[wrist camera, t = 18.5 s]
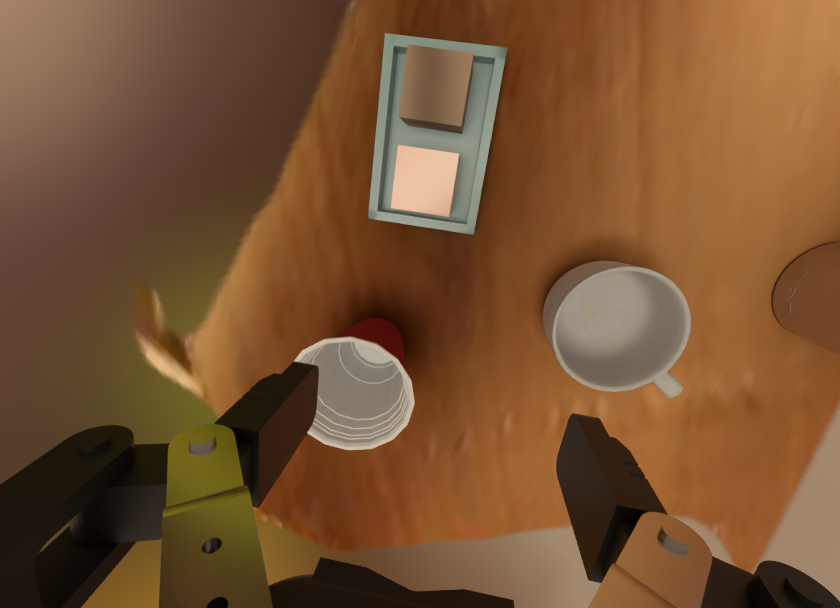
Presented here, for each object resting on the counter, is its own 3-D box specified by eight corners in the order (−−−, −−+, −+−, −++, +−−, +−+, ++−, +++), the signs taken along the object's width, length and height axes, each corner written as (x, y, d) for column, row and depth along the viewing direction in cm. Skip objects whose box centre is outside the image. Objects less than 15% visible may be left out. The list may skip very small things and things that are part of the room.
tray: (504, 57, 33) (507, 47, 31) (473, 231, 38) (473, 234, 36) (391, 43, 34) (385, 33, 32) (374, 216, 39) (368, 218, 36)
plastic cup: (401, 401, 45) (378, 475, 33) (318, 357, 44) (266, 418, 33) (446, 325, 41) (437, 379, 30) (356, 277, 41) (312, 313, 29)
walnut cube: (472, 71, 33) (473, 53, 29) (462, 133, 35) (461, 126, 30) (416, 63, 34) (407, 44, 29) (408, 125, 35) (398, 117, 30)
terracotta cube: (451, 212, 37) (449, 216, 32) (400, 204, 37) (390, 207, 33) (460, 157, 35) (459, 153, 31) (407, 149, 36) (397, 144, 31)
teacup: (516, 288, 39) (527, 313, 32) (618, 228, 36) (658, 240, 29) (582, 393, 42) (608, 440, 34) (683, 345, 39) (734, 384, 31)
